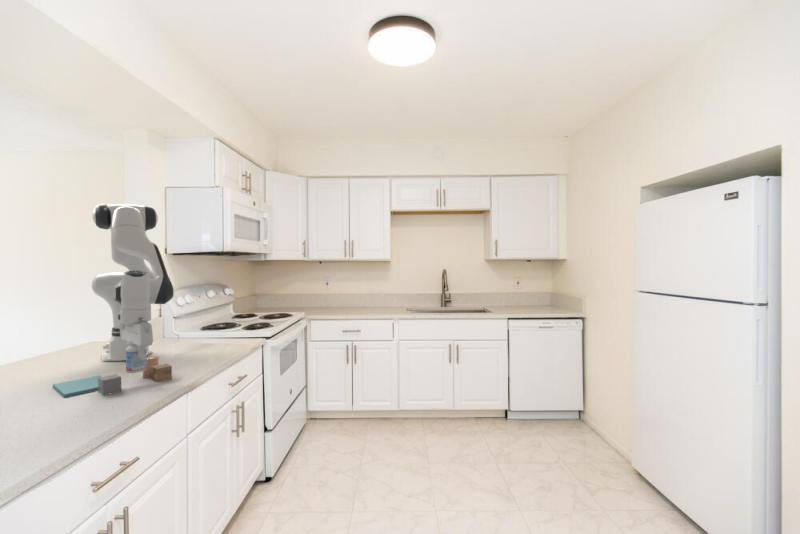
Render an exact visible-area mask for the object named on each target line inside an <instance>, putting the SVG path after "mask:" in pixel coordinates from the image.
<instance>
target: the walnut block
mask: <svg viewBox="0 0 800 534" xmlns="http://www.w3.org/2000/svg"><path fill="white" fill-rule="evenodd" d="M172 367H173V365H171V364H168V363H162V364H161V363H160V364H159V365H156V366H151V378H150V379H151V381H153V382H156V383H158V382H163V381H168V380H171V379H172V378H173V376H172V375H173V373H172V371H173V370H172Z"/></svg>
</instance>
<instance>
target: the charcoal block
mask: <svg viewBox="0 0 800 534" xmlns="http://www.w3.org/2000/svg"><path fill="white" fill-rule="evenodd" d="M118 391H120V392H122V376H121V375H119V374H117V373H115V374H111V375H104V376H102V377H99V378H98V390H97V392H98V393H99V394H100V393H101V394H102V396H106V395H105V394H107V395H110V394H109V393H112V394H115V393H114V392H116V393H119V392H118ZM101 394H100V395H101Z"/></svg>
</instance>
